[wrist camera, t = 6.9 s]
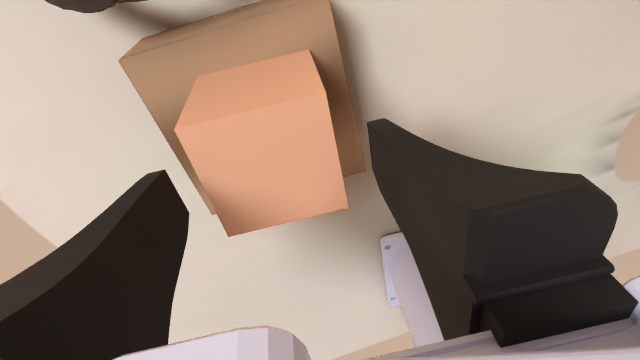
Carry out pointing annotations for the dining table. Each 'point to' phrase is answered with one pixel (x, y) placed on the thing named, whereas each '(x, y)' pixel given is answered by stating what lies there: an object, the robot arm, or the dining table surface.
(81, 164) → the dining table surface
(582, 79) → the dining table surface
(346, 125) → the light tan wooden block
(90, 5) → the pottery mug
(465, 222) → the robot arm
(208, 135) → the terracotta block
